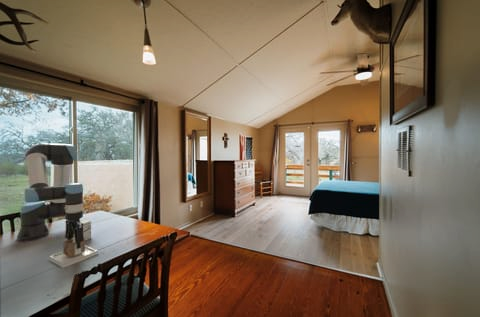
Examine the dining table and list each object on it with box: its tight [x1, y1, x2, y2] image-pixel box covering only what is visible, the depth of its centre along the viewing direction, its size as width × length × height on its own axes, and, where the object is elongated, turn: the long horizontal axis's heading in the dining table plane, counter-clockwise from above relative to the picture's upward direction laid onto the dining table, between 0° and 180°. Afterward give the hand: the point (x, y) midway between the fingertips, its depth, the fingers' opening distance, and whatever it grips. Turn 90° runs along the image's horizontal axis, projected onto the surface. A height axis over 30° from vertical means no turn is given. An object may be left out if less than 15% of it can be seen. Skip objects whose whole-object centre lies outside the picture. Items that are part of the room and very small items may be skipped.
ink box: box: [73, 219, 92, 241], centre depth 131 cm, size 9×5×12 cm, turn 168°
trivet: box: [48, 244, 99, 269], centre depth 110 cm, size 16×16×2 cm
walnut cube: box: [62, 238, 86, 257], centre depth 110 cm, size 7×7×7 cm
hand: (74, 252), depth 110 cm, fingers closed on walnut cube, 7 cm apart
